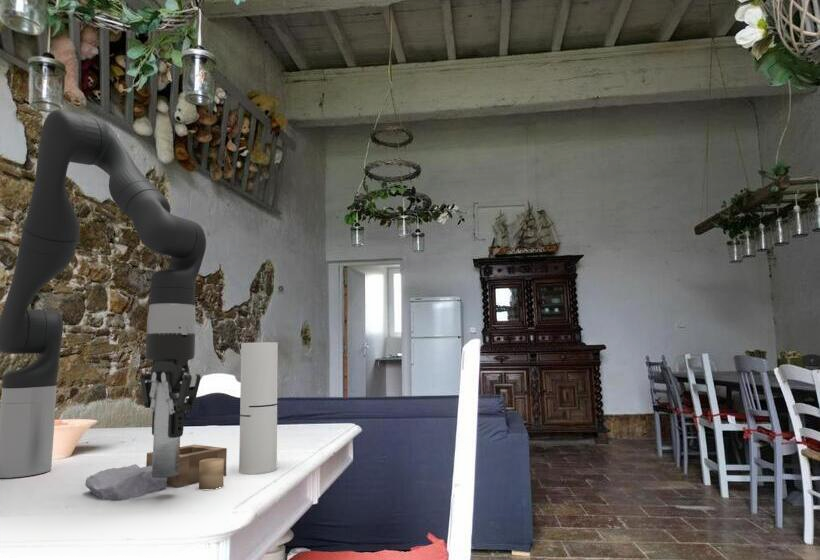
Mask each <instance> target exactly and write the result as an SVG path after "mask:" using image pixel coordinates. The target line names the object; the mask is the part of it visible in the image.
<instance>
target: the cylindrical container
mask: <svg viewBox="0 0 820 560" xmlns="http://www.w3.org/2000/svg"><path fill="white" fill-rule="evenodd" d="M240 344H241V345H240V347H241V348H240V400H239V403H240V404H239V406H240V407H239V412H240V413H239V415H240V416H239V456H238V457H239V458H238V459H239V460H238V464H239V465H238V468H239V469H238V473H239V474H243V475H262V474H261V473H263V474H267V472H268V473H272V472H275V471H276V470H277V469H278V466H277V465H278V462H277V461H278V366H279V365H278V363H279V362H278V360H279V358H278V357H279V356H278V351H279V350H278V349H279V346H278V345H279V343H278V342H276V341H275V342H273V341H271V342H268V341H267V342H266V341H265V342H263V341H262V342H257V341H256V342H241V343H240ZM271 471H272V472H271Z"/></svg>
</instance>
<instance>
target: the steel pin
mask: <svg viewBox="0 0 820 560" xmlns="http://www.w3.org/2000/svg"><path fill="white" fill-rule="evenodd" d="M179 392H180V391H179ZM179 392H172V393H173V394H179ZM177 400H178V399H175V403H176V404H177ZM169 415H170V412H169V404H168V401H167V400H166V399H165V394H164V385H163V383H162V382H158V383H156V396H155V419H154V435H153V446H152V452H153V464H152V477H153V478H167V477H173V476H176V475H178V474H179V456H180V447H181V437H176V438H170V437H168V423H169Z"/></svg>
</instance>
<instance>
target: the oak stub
mask: <svg viewBox="0 0 820 560" xmlns="http://www.w3.org/2000/svg"><path fill="white" fill-rule="evenodd" d="M224 477H225V476H224V459H223V458H210V459H204V460H201V461H199V482H198V490H200V489H213V490H217V489H216V488H218V489H220V488H219V487H221V488H223V487H224ZM222 486H223V487H222Z"/></svg>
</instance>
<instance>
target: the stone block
mask: <svg viewBox="0 0 820 560" xmlns="http://www.w3.org/2000/svg"><path fill="white" fill-rule="evenodd" d="M166 482H167V478H153V477H152V466H146V465H145V466H143V467H140V466H139V465H137V464H132V465H128V466H123V467H117V468H116V467H113V468H108V469H104V470H103V469H102V470H100V471H98V472H96V473H95V474H93V475H89V476H87V477H86V479H85V482H84V484H85V485H84V486H85V487H86V488H88V490H89V491H90V492H91V493H92V494H94V495H96V497H97V498H100V499H102V500H104V501H125V500H130V499H135V498H136V499H137V498H139V497H142V496H146V495H148V494H152V493H156V492H159V491H163V490H164V491H165V490H166V489H167V486H168V485H166Z"/></svg>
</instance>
